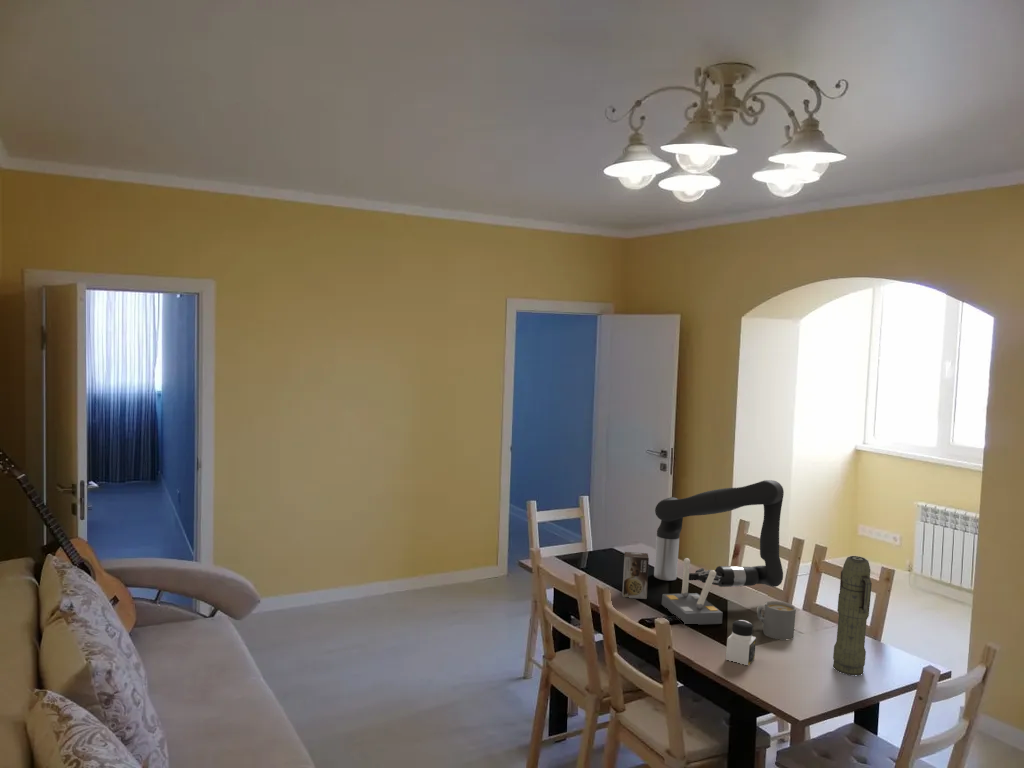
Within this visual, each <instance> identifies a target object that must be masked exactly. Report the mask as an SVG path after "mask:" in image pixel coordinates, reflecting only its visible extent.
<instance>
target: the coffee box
mask: <svg viewBox="0 0 1024 768" xmlns="http://www.w3.org/2000/svg"><path fill="white" fill-rule="evenodd" d="M623 556H624V557H623V559H624V560H623V574H622V577H623V578H622V592H621V593H622V598H625V597H629V598H630V599H641V600H647V597H648V580H649V579H648V578H649V562H650V557H649V554H648V553H646V552H645V553H644V552H632V551H624V555H623ZM629 598H628V599H629Z"/></svg>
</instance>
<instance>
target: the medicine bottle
mask: <svg viewBox="0 0 1024 768" xmlns="http://www.w3.org/2000/svg"><path fill="white" fill-rule="evenodd" d="M731 629H732V630H731V634H730V635H729V636H728V637H727V638H726V639H727V640H726V653H725V654H726V655H725V660H726V661H727V660H729V661H728V662H731V661H733V662H732V663H734V662H737V663H736V664H738V663H740V664H739V665H742V664H744V665H743V666H745V665H748V666H747V667H749V666H750V665H751V664H750V663H753V661H754V660H755V657H756V655H755V654H756V645H757V638H756V636H753V632H754V631H753V629H754V625H753V624H752V623H751V622H749V621H748V620H744V619H737V620H734V621H733V622H732V627H731Z"/></svg>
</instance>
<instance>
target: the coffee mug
mask: <svg viewBox="0 0 1024 768" xmlns="http://www.w3.org/2000/svg"><path fill="white" fill-rule="evenodd" d="M796 609H797V607H796V606H795V605H793V604H791V603H789V602H785V601H782V600H781V601H779V600H768V601H766V602H765V603H764V604H760V605H759V606H758V607H757V609H756V617H757V619H758V620H759V621H760V622H761V623H762V624H763V626H762V627H763V628H762V633H763V634H764V635H765V636H766V637H768V638H770V639H771V638H772V639H774V638H775V639H774V640H778V639H781V640H780V641H787V640H786V639H790V640H792V639H791V638H793V639H794V636H795V623H796ZM762 610H763V611H764V613H763V615H762Z"/></svg>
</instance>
